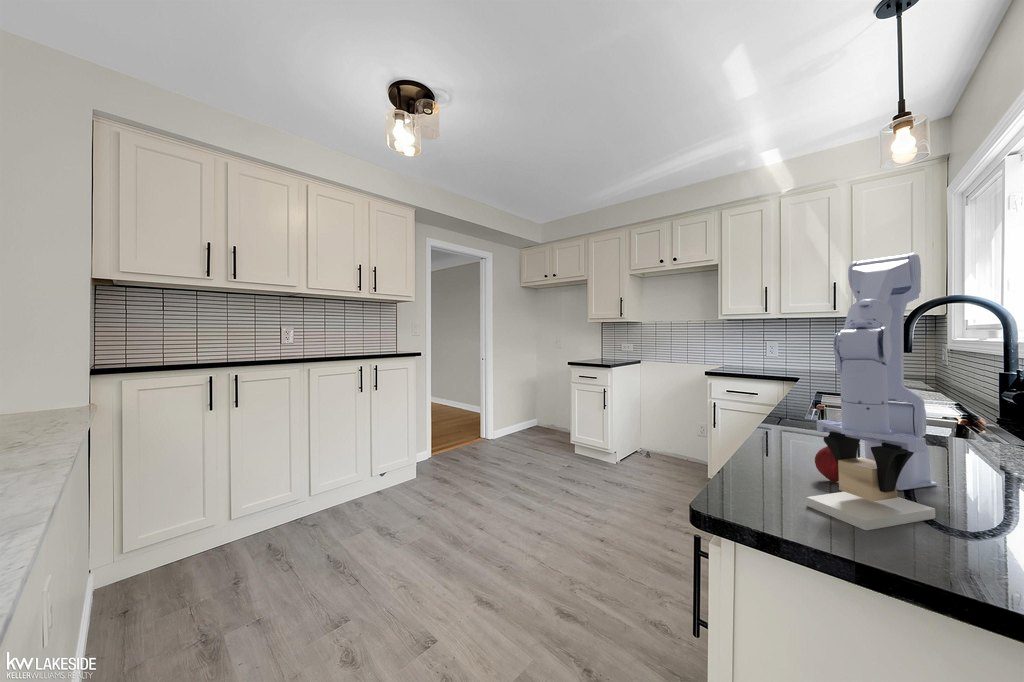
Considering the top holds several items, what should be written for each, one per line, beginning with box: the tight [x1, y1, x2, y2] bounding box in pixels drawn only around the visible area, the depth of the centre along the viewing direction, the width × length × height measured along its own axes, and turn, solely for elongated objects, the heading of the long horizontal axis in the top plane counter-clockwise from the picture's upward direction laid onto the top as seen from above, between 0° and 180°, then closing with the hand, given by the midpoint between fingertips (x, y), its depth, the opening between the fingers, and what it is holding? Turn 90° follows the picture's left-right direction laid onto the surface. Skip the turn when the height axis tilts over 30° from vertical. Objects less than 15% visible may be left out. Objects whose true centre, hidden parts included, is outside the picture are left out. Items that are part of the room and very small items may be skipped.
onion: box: [814, 445, 839, 483], centre depth 76 cm, size 6×6×8 cm
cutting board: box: [806, 491, 936, 531], centre depth 63 cm, size 14×9×2 cm, turn 102°
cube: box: [838, 456, 898, 501], centre depth 63 cm, size 5×5×5 cm
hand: (867, 484), depth 63 cm, fingers closed on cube, 5 cm apart
